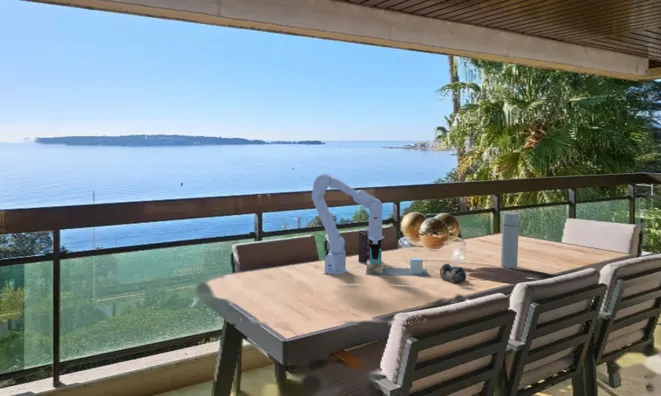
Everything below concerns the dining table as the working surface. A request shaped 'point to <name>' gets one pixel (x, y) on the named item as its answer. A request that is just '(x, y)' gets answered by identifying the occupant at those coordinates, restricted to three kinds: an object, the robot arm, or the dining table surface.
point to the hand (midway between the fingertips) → (375, 257)
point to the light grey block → (416, 265)
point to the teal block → (375, 261)
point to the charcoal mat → (399, 272)
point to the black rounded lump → (452, 274)
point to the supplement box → (364, 246)
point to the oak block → (375, 268)
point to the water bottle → (510, 240)
